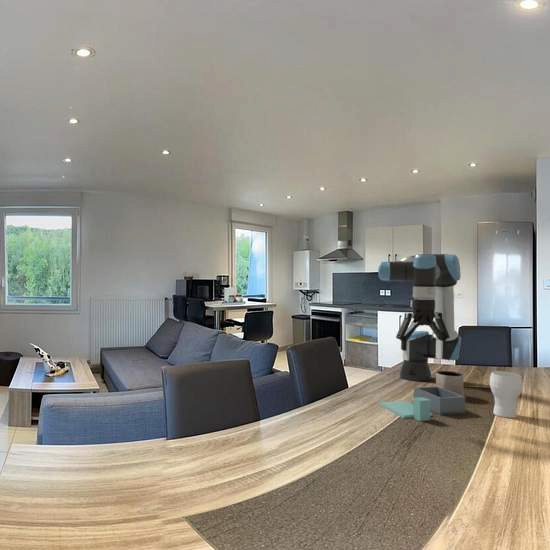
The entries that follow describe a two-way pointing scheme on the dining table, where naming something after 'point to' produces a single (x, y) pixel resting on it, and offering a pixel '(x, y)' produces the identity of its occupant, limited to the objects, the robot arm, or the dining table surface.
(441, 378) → the planter
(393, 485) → the dining table surface
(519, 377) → the cup
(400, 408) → the lid
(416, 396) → the tub
